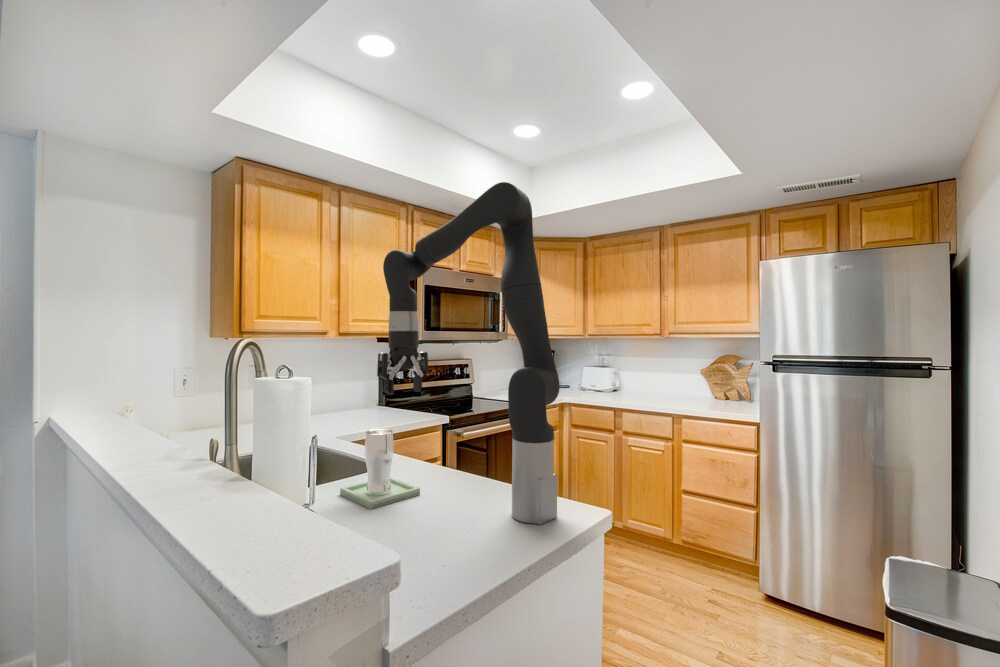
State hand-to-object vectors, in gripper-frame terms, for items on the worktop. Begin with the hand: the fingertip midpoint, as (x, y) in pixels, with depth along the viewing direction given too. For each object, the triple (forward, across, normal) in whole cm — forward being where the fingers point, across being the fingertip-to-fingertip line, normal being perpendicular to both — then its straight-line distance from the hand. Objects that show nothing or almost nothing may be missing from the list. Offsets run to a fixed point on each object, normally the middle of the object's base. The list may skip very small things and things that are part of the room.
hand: (403, 393), depth 121 cm
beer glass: (+24, -6, +2) cm, 25 cm away
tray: (+25, -6, +2) cm, 26 cm away
